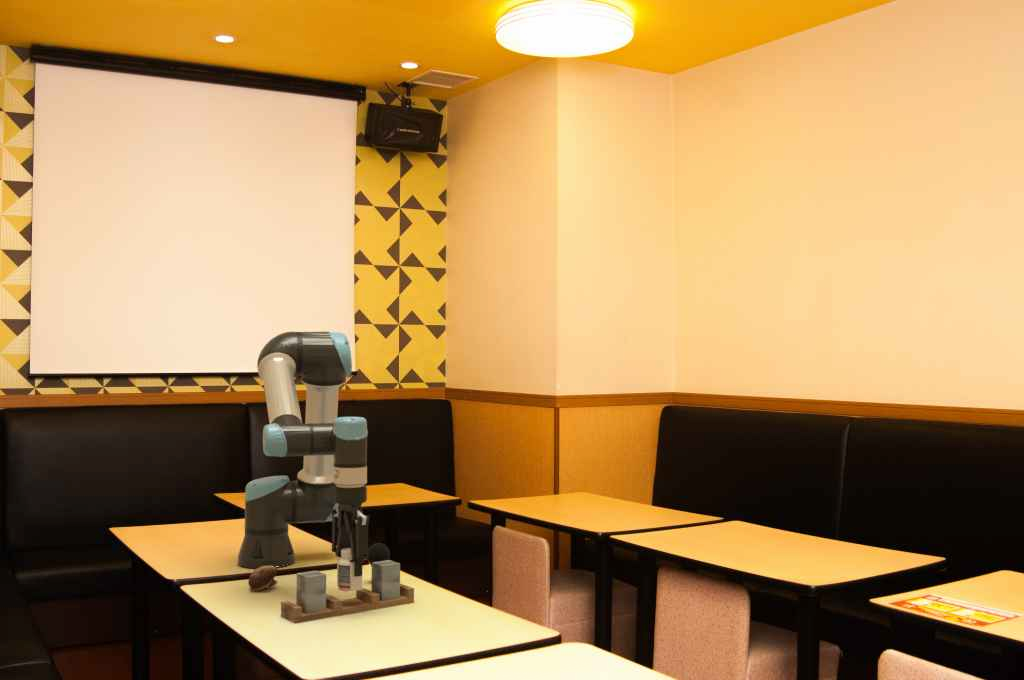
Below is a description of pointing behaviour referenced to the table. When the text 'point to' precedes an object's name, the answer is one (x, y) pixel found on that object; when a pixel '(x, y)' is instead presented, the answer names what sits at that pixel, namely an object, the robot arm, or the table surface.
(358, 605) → the rail
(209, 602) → the table surface
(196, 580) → the table surface
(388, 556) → the black round piece
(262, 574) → the mushroom
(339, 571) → the pill bottle
